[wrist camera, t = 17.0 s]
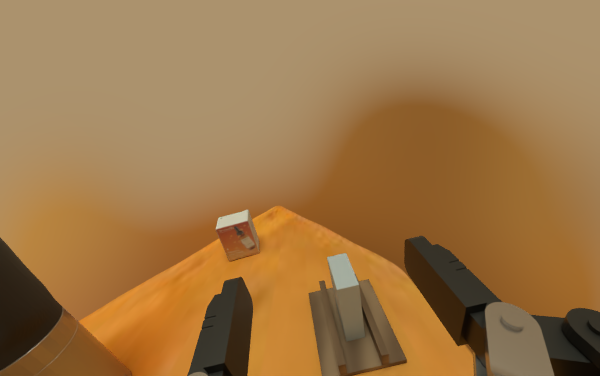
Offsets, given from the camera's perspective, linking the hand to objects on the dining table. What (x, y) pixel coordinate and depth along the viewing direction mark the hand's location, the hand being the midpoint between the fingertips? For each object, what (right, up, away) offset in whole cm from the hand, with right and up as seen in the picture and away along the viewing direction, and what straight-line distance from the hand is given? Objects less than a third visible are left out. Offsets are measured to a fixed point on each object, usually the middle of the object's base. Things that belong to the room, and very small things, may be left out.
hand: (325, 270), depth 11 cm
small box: (-16, -13, +49) cm, 53 cm away
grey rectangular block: (+7, -18, +27) cm, 33 cm away
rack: (+7, -19, +27) cm, 34 cm away
